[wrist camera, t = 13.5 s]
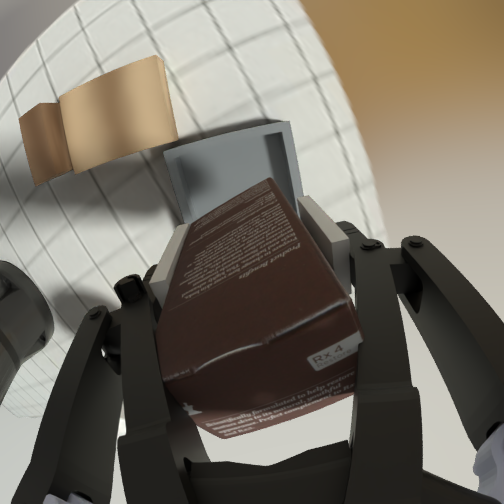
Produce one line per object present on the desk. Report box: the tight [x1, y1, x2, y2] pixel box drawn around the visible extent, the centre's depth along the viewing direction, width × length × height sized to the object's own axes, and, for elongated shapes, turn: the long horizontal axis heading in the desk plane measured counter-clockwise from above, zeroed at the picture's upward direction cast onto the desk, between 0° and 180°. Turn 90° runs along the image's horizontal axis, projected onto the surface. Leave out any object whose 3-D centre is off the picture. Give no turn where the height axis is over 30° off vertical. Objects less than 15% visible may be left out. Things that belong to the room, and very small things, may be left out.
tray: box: [163, 121, 304, 225], centre depth 24 cm, size 11×12×2 cm
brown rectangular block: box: [19, 103, 73, 186], centre depth 19 cm, size 3×7×5 cm, turn 13°
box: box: [155, 177, 364, 439], centre depth 12 cm, size 6×4×12 cm
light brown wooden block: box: [59, 55, 179, 174], centre depth 20 cm, size 10×8×3 cm
